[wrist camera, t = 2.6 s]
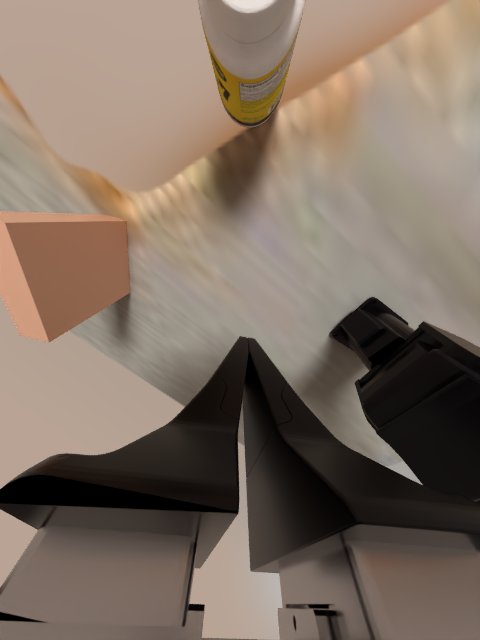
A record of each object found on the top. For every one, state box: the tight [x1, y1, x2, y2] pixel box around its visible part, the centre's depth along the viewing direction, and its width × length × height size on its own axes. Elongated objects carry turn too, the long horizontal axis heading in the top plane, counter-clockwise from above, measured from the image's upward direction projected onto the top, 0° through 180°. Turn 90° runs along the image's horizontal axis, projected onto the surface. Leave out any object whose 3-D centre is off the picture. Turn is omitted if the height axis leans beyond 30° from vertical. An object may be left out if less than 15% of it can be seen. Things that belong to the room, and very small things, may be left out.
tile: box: [0, 212, 130, 342], centre depth 15 cm, size 2×8×10 cm, turn 164°
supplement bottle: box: [198, 0, 305, 128], centre depth 9 cm, size 5×5×8 cm
